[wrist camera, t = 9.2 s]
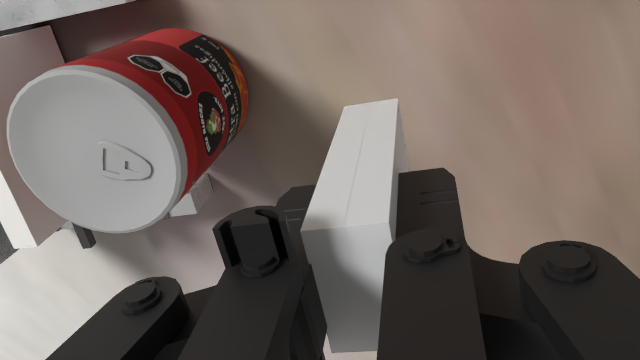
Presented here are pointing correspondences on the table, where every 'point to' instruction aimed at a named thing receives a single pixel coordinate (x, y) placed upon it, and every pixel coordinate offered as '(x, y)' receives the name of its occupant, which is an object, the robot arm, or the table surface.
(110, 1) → the frame
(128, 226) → the canned food
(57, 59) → the white flat block
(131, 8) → the table surface
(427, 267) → the robot arm
